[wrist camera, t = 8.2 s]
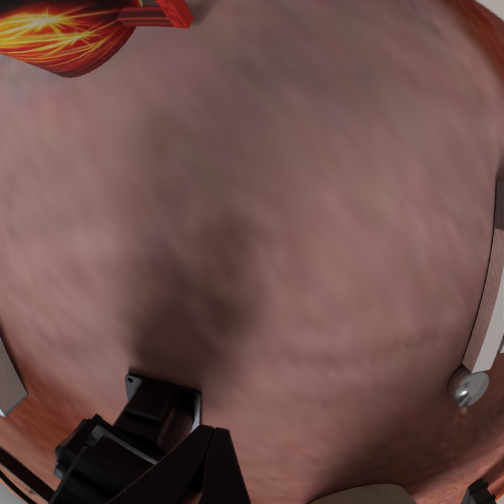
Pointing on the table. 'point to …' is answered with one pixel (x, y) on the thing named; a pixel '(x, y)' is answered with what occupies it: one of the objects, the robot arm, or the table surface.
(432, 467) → the table surface
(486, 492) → the magazine
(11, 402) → the white low block
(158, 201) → the table surface
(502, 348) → the base
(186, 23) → the mug
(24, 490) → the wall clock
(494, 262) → the tong arm
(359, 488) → the plant pot
